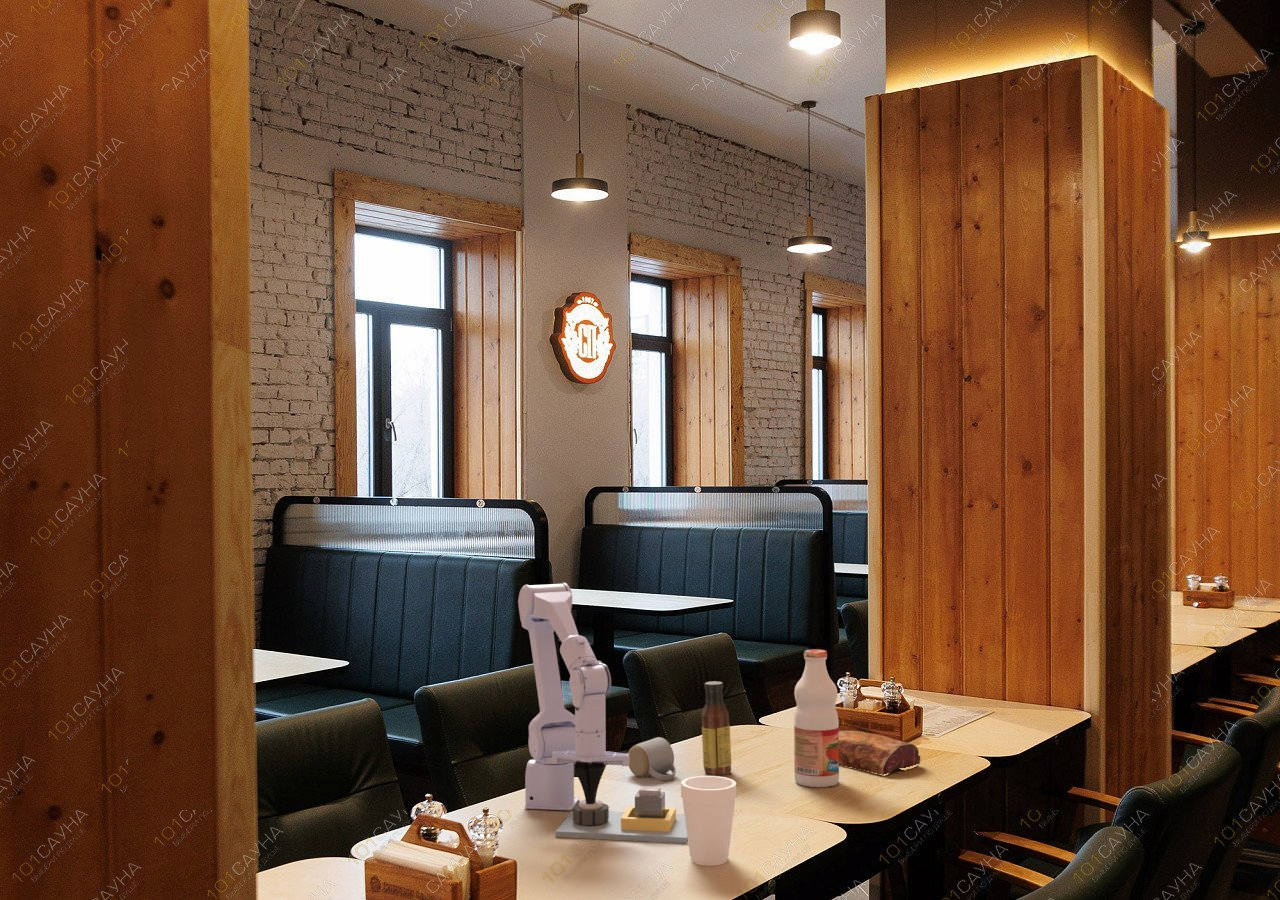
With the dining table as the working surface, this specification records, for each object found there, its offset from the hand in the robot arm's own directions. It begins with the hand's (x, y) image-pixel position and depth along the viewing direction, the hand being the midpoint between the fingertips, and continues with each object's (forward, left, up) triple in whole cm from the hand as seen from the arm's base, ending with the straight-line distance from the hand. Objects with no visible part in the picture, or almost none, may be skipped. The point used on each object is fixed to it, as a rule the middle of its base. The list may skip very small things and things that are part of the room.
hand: (590, 802), depth 216 cm
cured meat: (+51, +60, -5) cm, 79 cm away
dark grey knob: (0, 0, -3) cm, 3 cm away
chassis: (+7, 0, -4) cm, 8 cm away
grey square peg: (+11, 0, -3) cm, 12 cm away
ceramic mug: (+6, +38, -5) cm, 39 cm away
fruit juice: (+41, +38, -5) cm, 56 cm away
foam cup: (+24, -15, -5) cm, 29 cm away
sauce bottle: (+19, +43, -5) cm, 47 cm away
